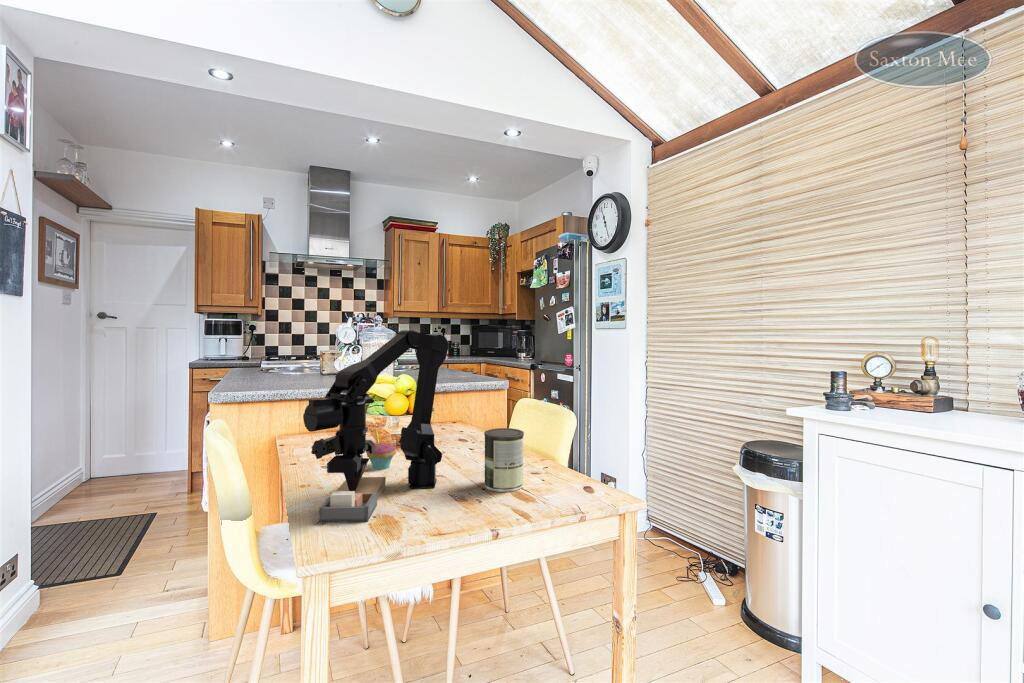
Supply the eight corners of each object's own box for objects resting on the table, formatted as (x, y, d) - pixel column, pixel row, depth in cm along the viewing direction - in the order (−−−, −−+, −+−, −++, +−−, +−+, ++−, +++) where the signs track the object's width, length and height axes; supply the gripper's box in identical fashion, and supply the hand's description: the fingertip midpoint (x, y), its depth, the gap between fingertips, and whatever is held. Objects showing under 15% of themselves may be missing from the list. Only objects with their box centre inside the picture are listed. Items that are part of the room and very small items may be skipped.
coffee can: (476, 487, 124) (476, 433, 124) (497, 477, 133) (498, 426, 133) (510, 495, 119) (510, 438, 119) (530, 483, 128) (531, 430, 128)
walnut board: (385, 486, 125) (385, 476, 125) (375, 504, 112) (375, 493, 112) (348, 487, 124) (348, 477, 124) (333, 505, 111) (333, 494, 111)
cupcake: (360, 470, 139) (360, 428, 139) (375, 462, 148) (375, 423, 147) (387, 472, 137) (387, 430, 137) (401, 464, 146) (401, 424, 145)
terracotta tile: (362, 504, 111) (362, 493, 111) (357, 511, 106) (357, 500, 106) (342, 504, 110) (342, 493, 110) (336, 511, 106) (336, 500, 106)
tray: (377, 505, 112) (377, 492, 112) (367, 521, 102) (367, 507, 102) (332, 505, 111) (332, 492, 111) (319, 522, 101) (318, 508, 101)
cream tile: (354, 491, 106) (351, 494, 104) (354, 511, 106) (351, 515, 104) (334, 491, 106) (330, 495, 103) (334, 511, 106) (330, 516, 103)
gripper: (328, 417, 119) (328, 480, 119) (301, 433, 100) (301, 508, 100) (375, 417, 119) (375, 479, 120) (356, 433, 101) (356, 507, 101)
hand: (352, 492), depth 110 cm, fingers closed
